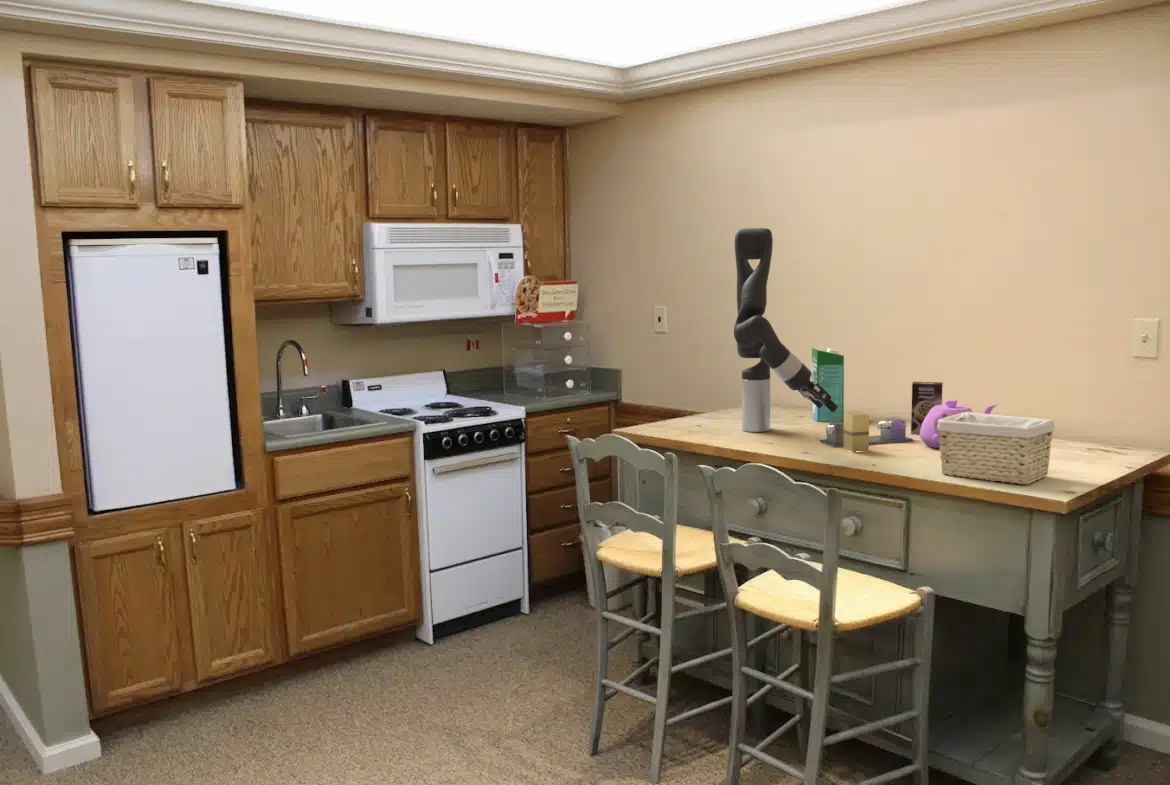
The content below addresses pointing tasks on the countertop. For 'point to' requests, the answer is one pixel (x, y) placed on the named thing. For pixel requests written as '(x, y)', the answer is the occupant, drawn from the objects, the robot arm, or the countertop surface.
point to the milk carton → (829, 383)
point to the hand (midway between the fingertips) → (828, 407)
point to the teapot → (930, 422)
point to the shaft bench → (889, 433)
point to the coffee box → (924, 402)
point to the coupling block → (856, 431)
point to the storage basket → (995, 447)
